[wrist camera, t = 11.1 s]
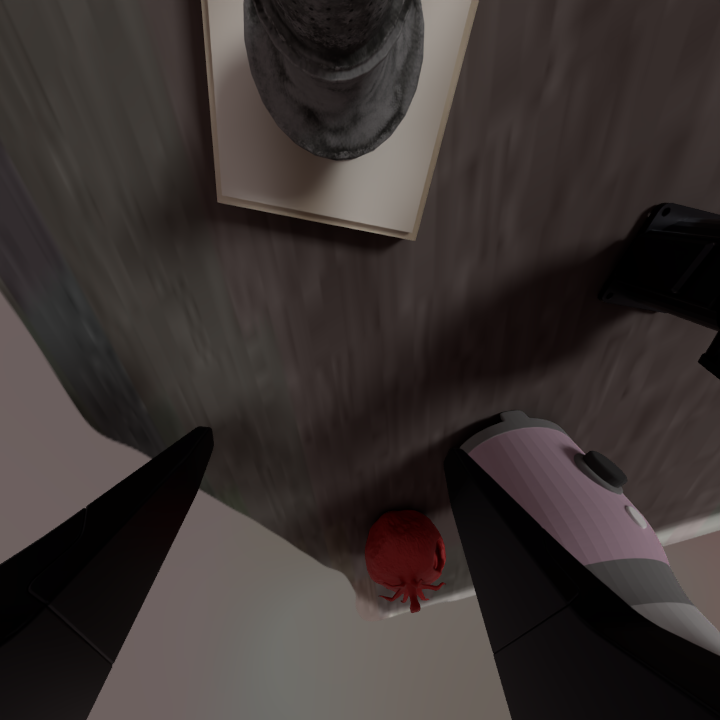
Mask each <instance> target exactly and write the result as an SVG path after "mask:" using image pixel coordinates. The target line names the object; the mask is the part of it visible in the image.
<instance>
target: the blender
mask: <svg viewBox="0 0 720 720" xmlns="http://www.w3.org/2000/svg"><path fill="white" fill-rule="evenodd" d="M500 418H501V420H502V422H501V423H498V424H495V425H492V426H490V427H488V428H486V429H484V430H482V431H480V432H478V433H477V434H475V435H474V436H472V437H471V438H469V439H468V440H467V441H466V442H465V443H464V444H463V445H462V446H461V447H460V448H461V449H463V450H464V451H465V452H466V453H467V454H468V455H469V456H470V457H471V458H472V459H473V460H474V461H475V462H476V463H477V464H478V465H479V466H480V467H481V468H483V469H484V470H485V471H486V472H487V473H488V474H489V475H490V476H491V477H492V478H493V479H494V480H495V481H496V482H497V483H498V484H499V485H500V486H501V487H502V488H503V489H504V490H505V491H506V492H507V493H508V494H509V495H510V496H511V497H512V498H513V499H514V500H515V501H516V502H517V503H518V504H519V505H520V506H521V507H523V508H524V509H525V510H526V511H527V512H528V513H529V514H530V515H531V516H532V517H533V518H534V519H535V520H536V521H537V522H538V523H539V524H540V525H541V526H542V528H544V529H545V530H546V531H547V532H548V533H549V534H550V535H551V536H552V537H553V538H554V539H556V540H557V541H558V542H559V543H560V544H561V545H562V546H563V547H564V548H565V549H566V550H567V551H568V552H569V553H570V554H572V555H573V556H574V557H575V558H576V559H577V560H578V561H579V562H580V563H582V564H583V565H584V566H585V567H586V568H587V569H588V570H589V571H591V572H592V573H593V574H594V575H595V576H596V577H597V578H599V579H600V580H601V581H602V582H603V583H604V584H605V585H607V586H608V587H609V588H610V589H611V590H612V591H614V592H615V593H616V594H617V595H618V596H619V597H620V598H622V599H623V600H624V601H625V602H626V603H627V604H628V605H630V606H631V607H632V608H633V609H634V610H636V611H637V612H638V613H640V614H641V615H642V616H644V617H645V618H647V619H648V620H650V621H651V622H653V623H655V624H656V625H658V626H660V627H662V628H664V629H666V630H668V631H670V632H672V633H674V634H676V635H678V636H680V637H682V638H684V639H686V640H688V641H690V642H692V643H694V644H696V645H698V646H701V647H703V648H705V649H707V650H709V651H711V652H713V653H715V654H717V655H719V656H720V632H719V631H718V630H717V629H716V628H715V627H714V626H713V625H712V624H711V623H710V622H709V621H708V620H707V618H706V617H705V616H704V615H703V614H702V613H701V612H700V611H699V610H698V609H697V608H696V607H695V606H694V604H693V603H692V602H691V601H690V600H689V598H688V597H687V596H686V594H685V593H684V591H683V589H682V588H681V586H680V584H679V583H678V581H677V579H676V577H675V576H674V574H673V572H672V570H671V568H670V565H669V562H668V559H667V557H666V554H665V552H664V549H663V547H662V545H661V543H660V541H659V539H658V537H657V535H656V534H655V532H654V531H653V529H652V527H651V526H650V525H649V523H648V522H647V520H646V519H645V518H644V517H643V515H642V514H641V513H640V512H639V511H638V510H637V509H636V507H635V506H634V505H633V504H632V503H631V502H630V501H629V500H628V499H627V498H626V497H625V495H624V494H623V489H622V487H621V486H622V485H624V484H625V483H626V482H627V477H626V475H625V474H624V473H623V472H622V471H621V470H620V469H619V468H618V467H617V466H616V465H615V464H614V463H613V462H612V461H610V460H609V459H608V458H606V457H605V456H603V455H602V454H600V453H598V452H596V451H589V452H588V453H587V454H585V453H584V452H583V451H582V450H581V449H580V448H579V447H578V446H577V445H576V444H575V443H574V442H573V440H572V439H571V438H570V437H569V436H568V435H567V434H566V433H565V431H564V430H563V429H562V428H561V427H559V426H558V425H556V424H555V423H553V422H550V421H547V420H543V419H537V418H529V417H528V416H527V415H526V414H524V413H523V412H522V411H519V410H515V411H507V412H503V413H501V414H500Z"/></svg>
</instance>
